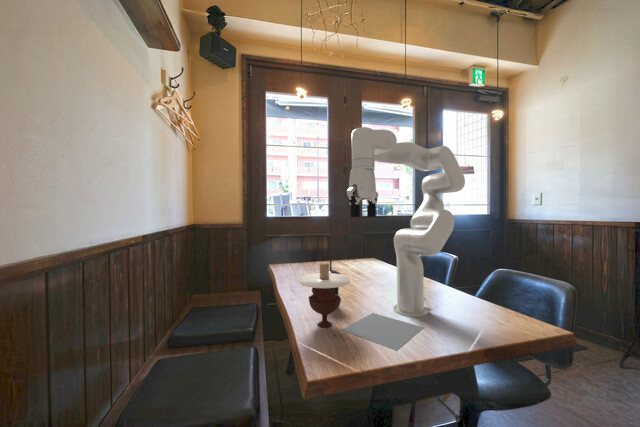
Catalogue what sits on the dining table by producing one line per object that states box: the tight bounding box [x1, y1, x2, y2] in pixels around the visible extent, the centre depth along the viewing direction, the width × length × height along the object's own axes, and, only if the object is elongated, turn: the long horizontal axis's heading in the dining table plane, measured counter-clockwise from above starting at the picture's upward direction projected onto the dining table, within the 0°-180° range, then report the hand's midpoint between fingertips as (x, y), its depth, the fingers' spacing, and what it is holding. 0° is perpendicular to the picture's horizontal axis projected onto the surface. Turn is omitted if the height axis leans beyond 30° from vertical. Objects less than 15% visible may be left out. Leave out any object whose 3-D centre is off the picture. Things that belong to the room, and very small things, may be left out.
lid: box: [298, 262, 351, 289], centre depth 86 cm, size 17×17×6 cm
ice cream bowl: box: [307, 287, 342, 329], centre depth 86 cm, size 11×11×15 cm
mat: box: [341, 312, 425, 351], centre depth 82 cm, size 19×19×1 cm
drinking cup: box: [329, 257, 341, 295], centre depth 104 cm, size 8×8×20 cm
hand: (363, 217), depth 86 cm, fingers open, 9 cm apart
